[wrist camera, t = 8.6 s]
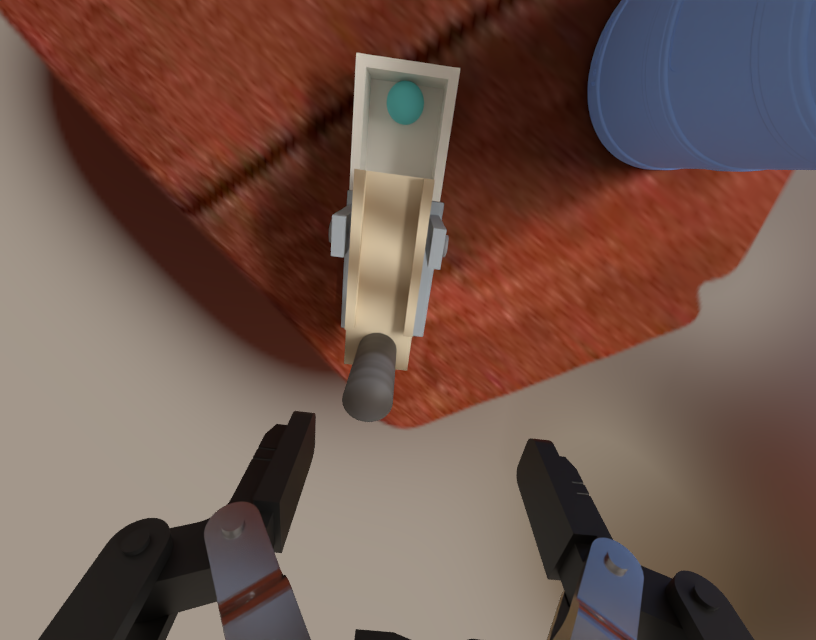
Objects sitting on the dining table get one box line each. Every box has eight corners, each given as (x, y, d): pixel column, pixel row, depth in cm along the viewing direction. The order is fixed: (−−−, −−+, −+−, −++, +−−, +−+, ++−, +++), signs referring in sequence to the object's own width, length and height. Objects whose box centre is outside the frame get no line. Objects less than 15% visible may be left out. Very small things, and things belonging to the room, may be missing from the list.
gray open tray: (363, 67, 30) (356, 52, 26) (453, 81, 30) (460, 68, 26) (356, 186, 34) (349, 189, 30) (436, 197, 34) (439, 201, 30)
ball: (386, 79, 27) (383, 125, 29) (426, 84, 27) (421, 130, 29) (389, 76, 29) (386, 119, 31) (426, 82, 30) (421, 124, 32)
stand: (348, 190, 34) (327, 197, 26) (444, 202, 35) (454, 214, 26) (341, 325, 40) (322, 366, 32) (423, 334, 41) (426, 378, 32)
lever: (357, 169, 27) (333, 164, 19) (434, 180, 28) (445, 179, 19) (345, 357, 34) (323, 417, 25) (408, 364, 34) (407, 426, 25)
